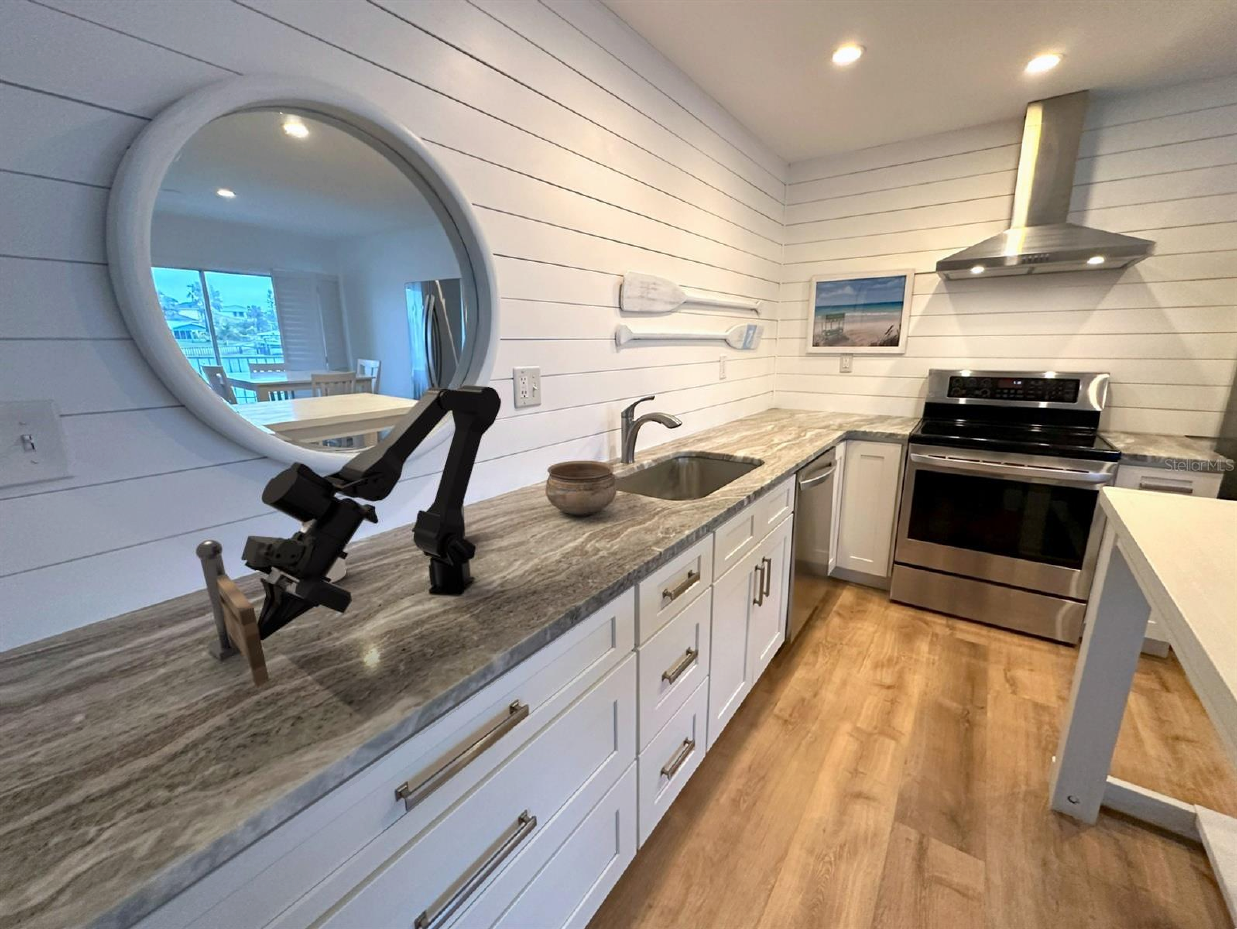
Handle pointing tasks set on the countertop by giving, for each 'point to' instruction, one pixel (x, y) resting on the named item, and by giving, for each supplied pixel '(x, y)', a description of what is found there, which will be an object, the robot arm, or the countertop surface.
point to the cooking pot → (581, 486)
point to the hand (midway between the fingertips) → (257, 639)
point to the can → (339, 566)
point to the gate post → (215, 595)
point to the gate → (242, 627)
